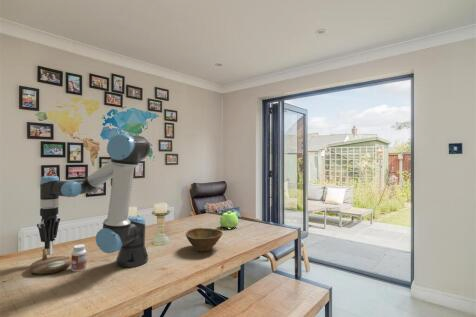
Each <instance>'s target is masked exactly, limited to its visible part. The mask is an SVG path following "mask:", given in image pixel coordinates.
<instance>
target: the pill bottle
mask: <svg viewBox="0 0 476 317" xmlns="http://www.w3.org/2000/svg"><path fill="white" fill-rule="evenodd" d="M70 258H71V264H70V270H71V271H72V272H81V271H84V270H86V268H87V250H86V245H85V244H83V243H81V244H80V243H79V244H75V245H74V246H73V250H72V252H71V257H70Z"/></svg>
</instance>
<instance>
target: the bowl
mask: <svg viewBox="0 0 476 317" xmlns="http://www.w3.org/2000/svg"><path fill="white" fill-rule="evenodd" d="M223 234H224V232H223V231H222V230H220V229H218V228H217V229H216V228H209V227H208V228H206V227H197V228H196V227H195V228H192V229H189V230H187V231H186V232H185V237H186V239H187V241H188V242H189V243H190V245H191V246H193V247H192V248H194V249H195V250H196V251H197V252H209V251H212V249H213V248H214V246H216V244H218V242H219V240H220V239H221V237H222V236H223Z"/></svg>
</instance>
